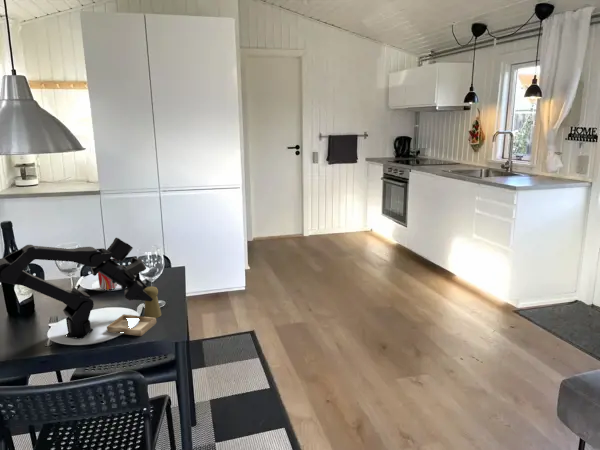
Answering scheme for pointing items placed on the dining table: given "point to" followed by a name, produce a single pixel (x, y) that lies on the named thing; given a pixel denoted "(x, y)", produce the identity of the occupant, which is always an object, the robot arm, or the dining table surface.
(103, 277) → the soda can
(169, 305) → the dining table surface
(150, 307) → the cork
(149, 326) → the tray
